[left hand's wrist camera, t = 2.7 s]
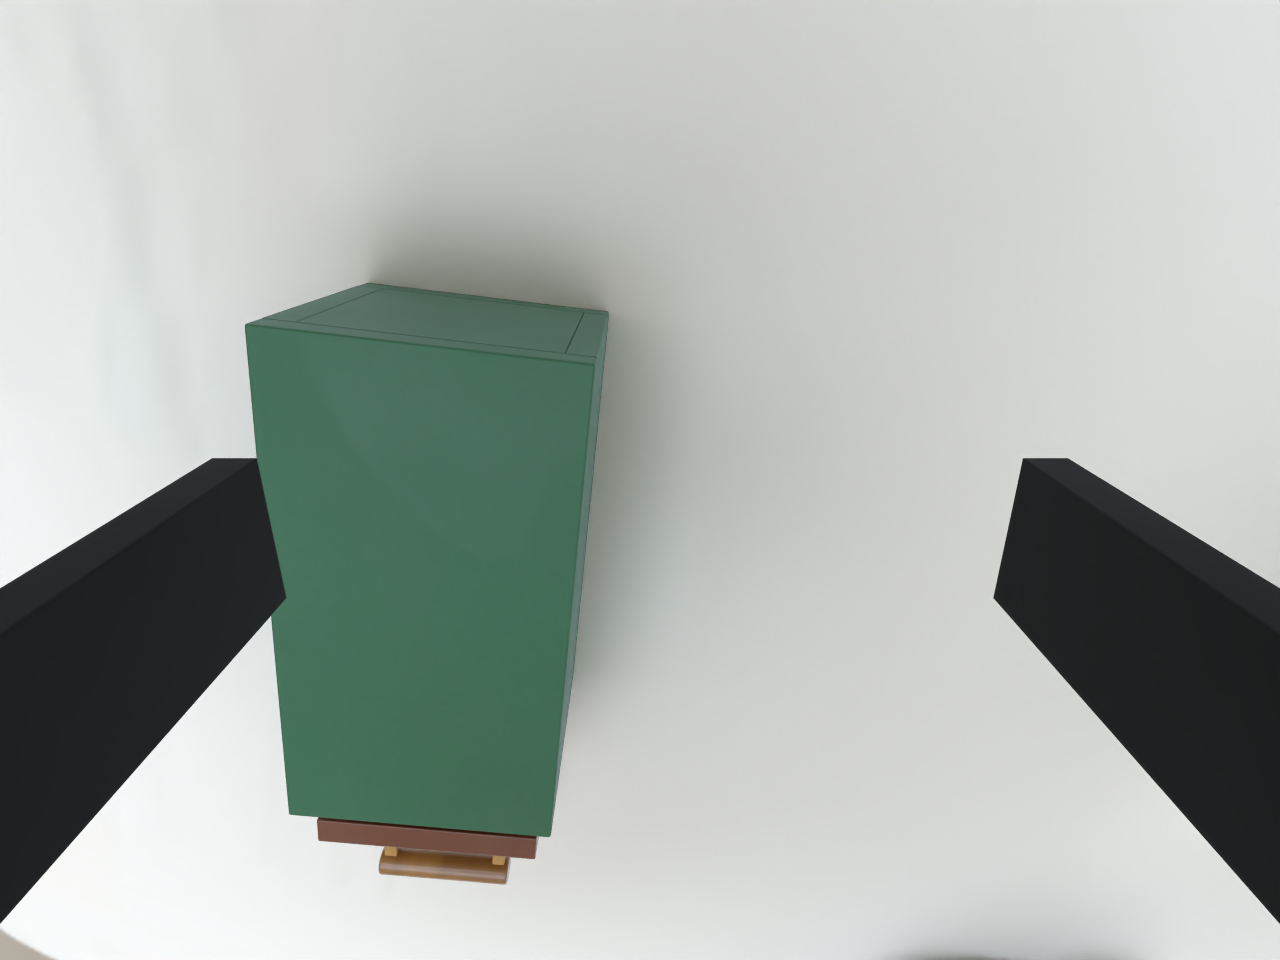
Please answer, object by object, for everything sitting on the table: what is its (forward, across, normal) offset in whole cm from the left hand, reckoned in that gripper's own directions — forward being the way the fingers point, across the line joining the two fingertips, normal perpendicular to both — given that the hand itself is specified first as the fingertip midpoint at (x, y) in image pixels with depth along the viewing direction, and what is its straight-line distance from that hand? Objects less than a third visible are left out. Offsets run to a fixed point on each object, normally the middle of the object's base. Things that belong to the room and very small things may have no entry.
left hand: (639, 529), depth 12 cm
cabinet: (+20, -8, -8) cm, 23 cm away
